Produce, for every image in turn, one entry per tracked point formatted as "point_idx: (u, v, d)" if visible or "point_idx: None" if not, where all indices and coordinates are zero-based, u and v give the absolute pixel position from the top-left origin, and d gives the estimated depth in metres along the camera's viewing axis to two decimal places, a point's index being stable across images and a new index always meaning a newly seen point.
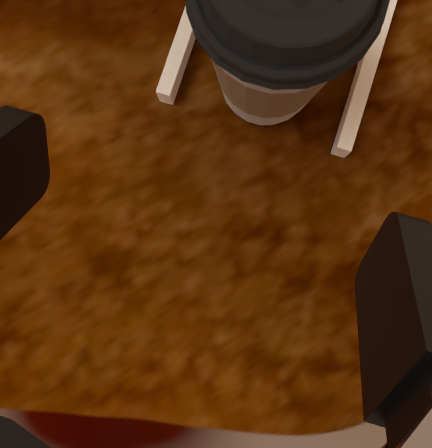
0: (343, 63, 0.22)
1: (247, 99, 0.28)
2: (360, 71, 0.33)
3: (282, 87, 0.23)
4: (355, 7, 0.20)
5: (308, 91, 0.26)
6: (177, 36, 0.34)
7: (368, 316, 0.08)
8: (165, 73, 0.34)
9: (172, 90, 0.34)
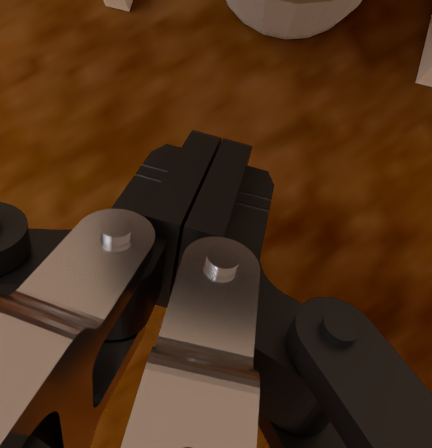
0: None
1: None
2: None
3: None
4: None
5: None
6: None
7: None
8: None
9: None
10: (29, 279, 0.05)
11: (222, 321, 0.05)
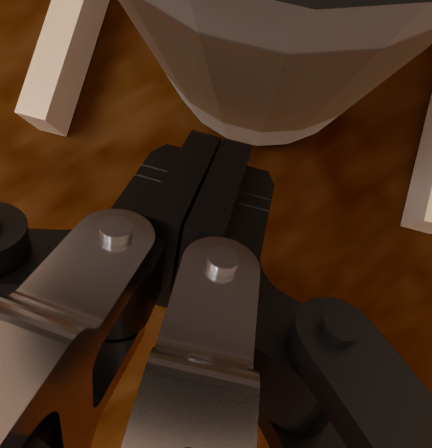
0: None
1: (215, 85, 0.09)
2: None
3: None
4: None
5: (415, 47, 0.08)
6: None
7: None
8: (35, 71, 0.15)
9: (53, 107, 0.15)
10: (29, 280, 0.05)
11: (223, 321, 0.05)
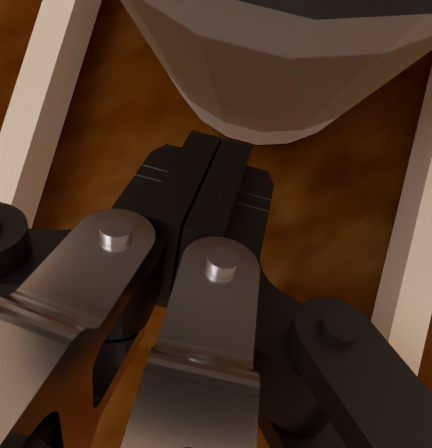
0: None
1: (216, 85, 0.09)
2: (413, 236, 0.14)
3: (364, 4, 0.04)
4: None
5: (416, 52, 0.08)
6: None
7: None
8: None
9: None
10: (29, 279, 0.05)
11: (222, 321, 0.05)
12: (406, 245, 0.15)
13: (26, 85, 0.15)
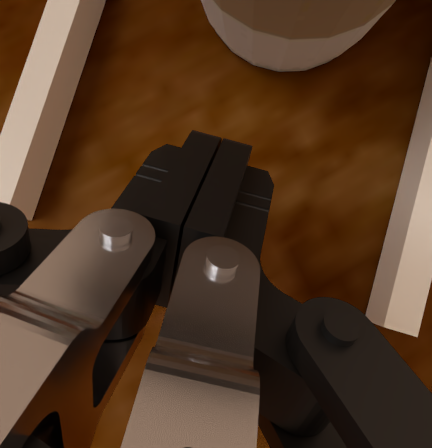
0: None
1: None
2: (428, 149, 0.15)
3: None
4: None
5: None
6: (24, 81, 0.16)
7: None
8: None
9: (15, 200, 0.15)
10: (29, 279, 0.05)
11: (222, 321, 0.05)
12: (421, 159, 0.15)
13: (57, 1, 0.16)
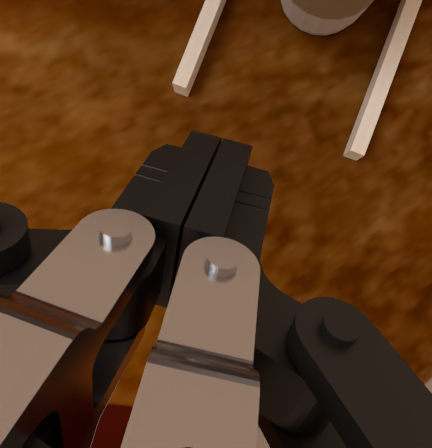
0: None
1: None
2: (378, 75, 0.33)
3: None
4: None
5: None
6: (197, 27, 0.33)
7: None
8: (183, 64, 0.33)
9: (189, 82, 0.34)
10: (29, 280, 0.05)
11: (222, 321, 0.05)
12: (375, 80, 0.34)
13: None
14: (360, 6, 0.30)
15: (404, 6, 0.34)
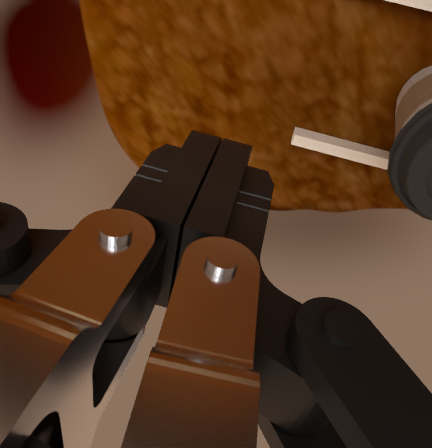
0: (397, 195, 0.34)
1: (403, 110, 0.35)
2: (353, 150, 0.44)
3: (390, 156, 0.33)
4: (428, 209, 0.32)
5: None
6: None
7: None
8: None
9: None
10: (29, 280, 0.05)
11: (222, 321, 0.05)
12: (350, 148, 0.44)
13: None
14: None
15: None
